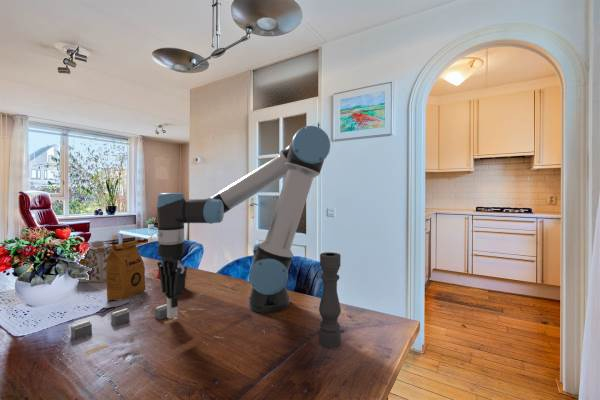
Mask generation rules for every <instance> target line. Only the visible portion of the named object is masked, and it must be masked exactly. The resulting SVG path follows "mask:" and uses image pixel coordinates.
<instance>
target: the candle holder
mask: <svg viewBox="0 0 600 400" xmlns="http://www.w3.org/2000/svg"><path fill="white" fill-rule="evenodd" d="M341 258H342V257H341V253H337V252H330V251H329V252H326V251H325V252H322V253H320V254H319V266H320V269H321V271H322V273H321V275H320V278H321V280H322V294H321V298H320V301H319V307H318V312H319V314H320V317H321V320H322V321H321V322H320V324H319V329H318V344H319V345H320V346H321V347H322V348H326V349H335V348H338V347H339V346H341V343H342V341H341V340H342V332H341V331H342V330H341V329H340V328H341V326H340V323H339V321H338V320H339V319H338V318H339V316H340V314H341V313H342V309H341V305H340V299H339V295H338V281H339V280H340V275H339V274H338V273H339V270H340V268H341Z"/></svg>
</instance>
